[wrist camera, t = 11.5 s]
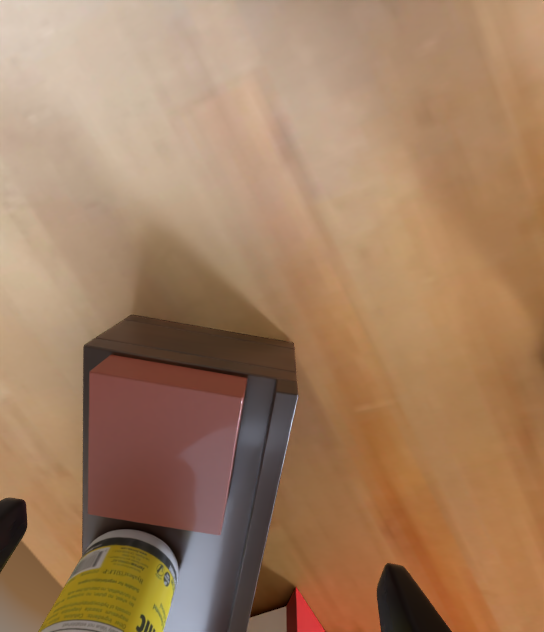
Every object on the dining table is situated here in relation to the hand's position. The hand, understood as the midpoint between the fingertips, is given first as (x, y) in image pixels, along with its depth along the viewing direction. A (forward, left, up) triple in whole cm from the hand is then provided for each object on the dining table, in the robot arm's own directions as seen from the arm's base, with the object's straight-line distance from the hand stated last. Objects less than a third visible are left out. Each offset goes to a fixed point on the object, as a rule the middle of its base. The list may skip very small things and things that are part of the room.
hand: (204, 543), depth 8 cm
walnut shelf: (+3, +9, -13) cm, 16 cm away
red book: (+3, +3, -8) cm, 9 cm away
